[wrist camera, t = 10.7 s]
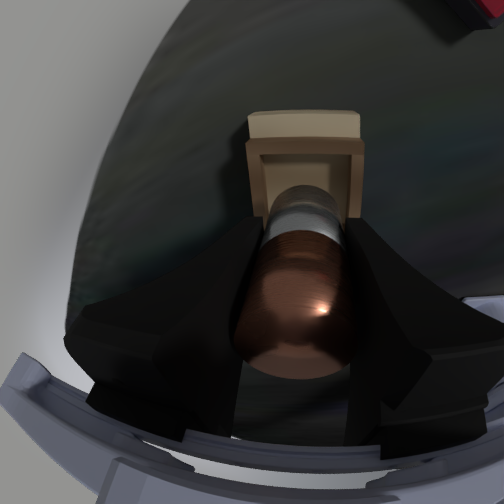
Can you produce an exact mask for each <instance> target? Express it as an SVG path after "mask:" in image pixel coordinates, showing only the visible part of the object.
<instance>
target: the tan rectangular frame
mask: <svg viewBox="0 0 504 504" xmlns="http://www.w3.org/2000/svg"><path fill="white" fill-rule="evenodd" d="M248 123H249V132H250V139H249V140H248V141H247V142H246V143H245V144H246V153H247V161H248V170H249V178H250V187H251V195H252V204H253V212H254V216H263V224H264V230H265V227H266V223H267V220H268V216H269V213H270V209H271V206H272V204H273V202H274V200H275V199H276V197H277V196H278V195H279V194H280V193H282V192H283V191H284V190H286V189H288V188H290V187H293V186H297V185H311V186H316V187H318V188H321V189H323V190H325V191H326V192H328V193H329V194H330V195H331V196H332V197H333V198H334V199H335V201H336V203H337V204H338V207H339V210H340V215H341V220H342V225H343V230H344V231H345V218H360V211H361V199H362V186H363V168H364V142H363V141H362V140H361V139H360V115H359V114H357V113H356V112H354V111H345V110H279V111H261V112H254V113H252V114H251V115H249V116H248Z"/></svg>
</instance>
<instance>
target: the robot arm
mask: <svg viewBox="0 0 504 504" xmlns="http://www.w3.org/2000/svg"><path fill="white" fill-rule="evenodd" d="M263 234H264V224H263V216H247V217H245V218H244V219H242V220H241V221H240V222H239V223H238V224H236V225H235V226H234V227H233V228H232V229H230V230H229V231H228V232H227V233H226V234H224V235H223V236H222V237H221V238H219V239H218V240H217V241H216V242H214V243H213V244H212V245H210V246H209V247H208V248H206V249H205V250H204V251H202V252H201V253H200V254H198V255H197V256H195V257H194V258H192V259H191V260H189V261H188V262H186V263H185V264H183V265H181V266H180V267H178V268H176V269H175V270H173V271H171V272H169V273H167V274H165V275H163V276H161V277H159V278H157V279H155V280H153V281H151V282H150V283H147V284H145V285H143V286H141V287H138V288H136V289H134V290H131V291H129V292H126V293H123V294H121V295H118V296H115V297H112V298H109V299H106V300H103V301H100V302H97V303H93V304H90V305H86V306H85V307H84V308H83V310H82V311H81V312H80V314H79V315H78V317H77V318H76V320H75V321H74V323H73V324H72V326H71V327H70V329H69V330H68V332H67V333H66V335H65V336H64V338H63V339H64V344H65V347H66V349H67V351H68V353H69V354H70V356H71V357H72V358H73V359H74V360H75V362H76V363H77V364H78V365H79V366H80V367H81V368H82V369H83V370H84V371H85V372H86V374H87V375H89V377H90V378H91V379H92V380H93V381H94V382H95V383H94V385H93V387H92V389H91V391H90V393H89V394H88V393H85V392H83V391H81V390H79V389H77V388H75V387H73V386H71V385H69V384H67V383H65V382H63V381H61V380H60V379H58V378H56V377H54V376H52V375H51V373H50V372H49V371H48V370H47V369H46V368H45V367H44V366H43V365H42V364H41V363H40V362H38V361H37V360H36V359H34V358H32V357H30V356H29V355H27V354H26V353H21V355H20V357H19V358H18V359H17V361H16V363H15V364H14V366H13V368H12V369H11V371H10V372H9V374H8V376H7V378H6V379H5V381H4V383H3V384H2V386H1V388H0V405H1V406H2V407H3V408H4V409H5V410H6V412H7V413H8V414H9V415H10V416H11V417H12V418H13V419H14V420H15V421H16V422H17V423H18V424H19V425H20V427H21V428H22V429H23V430H24V431H25V432H26V433H27V434H28V435H29V436H30V437H31V439H32V440H33V441H34V442H35V443H36V444H37V445H38V446H39V447H40V448H41V449H42V450H43V451H44V452H45V453H46V454H48V455H49V456H50V457H51V458H52V459H53V460H54V461H55V462H56V463H57V464H59V466H61V467H62V468H63V469H64V470H65V471H67V472H68V473H69V474H70V475H71V476H73V477H74V478H75V479H76V480H78V481H79V482H80V483H81V484H83V485H84V486H85V487H87V488H88V489H89V490H91V491H92V492H94V493H95V494H96V495H98V498H97V501H96V504H504V295H499V296H484V297H466V298H464V299H463V300H462V301H460V300H459V299H457V298H455V297H454V296H452V295H450V294H449V293H447V292H446V291H444V290H443V289H441V288H440V287H439V286H437V285H436V284H434V283H433V282H431V281H430V280H429V279H427V278H426V277H425V276H423V275H422V274H421V273H420V272H418V271H417V270H416V269H414V268H413V267H412V266H411V265H410V264H408V263H407V262H406V261H405V260H404V259H403V258H402V257H401V256H400V255H398V254H397V253H396V252H395V251H394V250H393V249H392V248H391V247H390V246H389V245H388V244H387V243H386V242H385V241H384V240H383V239H382V238H381V237H380V236H379V235H378V234H377V233H376V232H375V231H374V230H373V229H372V228H371V227H370V226H369V225H368V224H367V223H366V222H365V221H364V220H363V219H362V218H345V231H344V236H345V242H346V247H347V254H348V260H349V267H350V273H351V281H352V288H353V296H354V305H355V314H356V324H357V336H358V350H357V353H356V355H355V357H354V358H353V360H352V361H351V362H350V386H349V402H348V414H347V423H346V431H345V439H344V445H343V447H309V446H290V445H278V444H268V443H260V442H252V441H245V440H239V439H233V438H231V433H232V426H233V419H234V411H235V405H236V399H237V392H238V386H239V380H240V375H241V369H242V363H243V359H242V357H241V356H240V355H239V354H238V352H237V351H236V348H235V345H234V334H235V330H236V327H237V323H238V320H239V317H240V313H241V310H242V306H243V303H244V300H245V296H246V293H247V289H248V286H249V282H250V279H251V275H252V272H253V269H254V265H255V262H256V258H257V255H258V251H259V248H260V244H261V241H262V237H263ZM142 440H143V441H146V442H149V443H151V444H154V445H157V446H160V447H163V448H166V449H169V450H172V451H176V452H179V453H183V454H186V455H190V456H194V457H198V458H201V459H206V460H210V461H215V462H219V463H224V464H229V465H235V466H240V467H246V468H253V469H261V470H269V471H278V472H290V473H312V474H340V473H361V472H373V471H383V470H391V469H398V468H404V467H409V468H405V469H401V470H396V471H392V472H388V473H387V474H386V475H385V476H384V477H382V478H379V479H376V480H372V481H369V482H367V483H366V488H363V489H336V490H335V489H297V488H285V487H273V486H265V485H257V484H250V483H243V482H238V481H232V480H227V479H222V478H217V477H212V476H208V475H204V474H199V473H195V472H194V471H195V468H194V467H193V466H191V465H189V464H186V463H184V462H182V461H180V460H178V459H176V458H175V457H173V456H172V455H171V454H170V453H169V452H166V451H164V450H161V449H159V448H156V447H154V446H152V445H149V444H147V443H145V442H143V441H142ZM415 465H417V466H415ZM410 466H413V467H410Z"/></svg>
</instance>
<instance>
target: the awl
mask: <svg viewBox="0 0 504 504" xmlns="http://www.w3.org/2000/svg"><path fill="white" fill-rule="evenodd" d="M234 345H235V348H236V351H237V352H238V354H239V355H240V356H241V357H242V359H243V360H245V361H246V362H247V363H248V364H250V365H251V366H252V367H254V368H256V369H258V370H260V371H262V372H264V373H267V374H270V375H274V376H277V377H282V378H289V379H311V378H318V377H323V376H326V375H329V374H332V373H335V372H337V371H339V370H341V369H342V368H344V367H345V366H347V365H348V364H349V363H350V362H351V361H352V360H353V358H354V357H355V355H356V353H357V350H358V336H357V324H356V314H355V305H354V296H353V288H352V281H351V273H350V267H349V260H348V254H347V247H346V242H345V236H344V230H343V225H342V220H341V215H340V210H339V207H338V204H337V203H336V201H335V199H334V198H333V197H332V196H331V195H330V194H329V193H328V192H326V191H325V190H323V189H321V188H318V187H316V186H311V185H297V186H293V187H290V188H288V189H286V190H284V191H283V192H282V193H280V194H279V195H278V196H277V197H276V199H275V200H274V202H273V204H272V206H271V209H270V213H269V216H268V220H267V223H266V227H265V230H264V234H263V237H262V241H261V244H260V248H259V251H258V255H257V258H256V262H255V265H254V269H253V272H252V275H251V279H250V282H249V286H248V289H247V293H246V296H245V300H244V303H243V306H242V310H241V313H240V317H239V320H238V323H237V327H236V330H235V334H234Z"/></svg>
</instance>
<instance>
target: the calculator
mask: <svg viewBox="0 0 504 504" xmlns="http://www.w3.org/2000/svg"><path fill="white" fill-rule="evenodd" d="M445 1H446V2H447V4H448V5H449V6H450V7H451V8H452V9H453V10H454V11H455V12H456V13H457V15H458V16H459V17H460V18H461V19H462V20H463V22H464V23H465V24H466V25H467V26H468V27H469V28H470V29H471V30H482V29H493V28H496V27H497V26H498V25H499V24H500V23H501V22H502V21H504V0H445Z"/></svg>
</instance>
